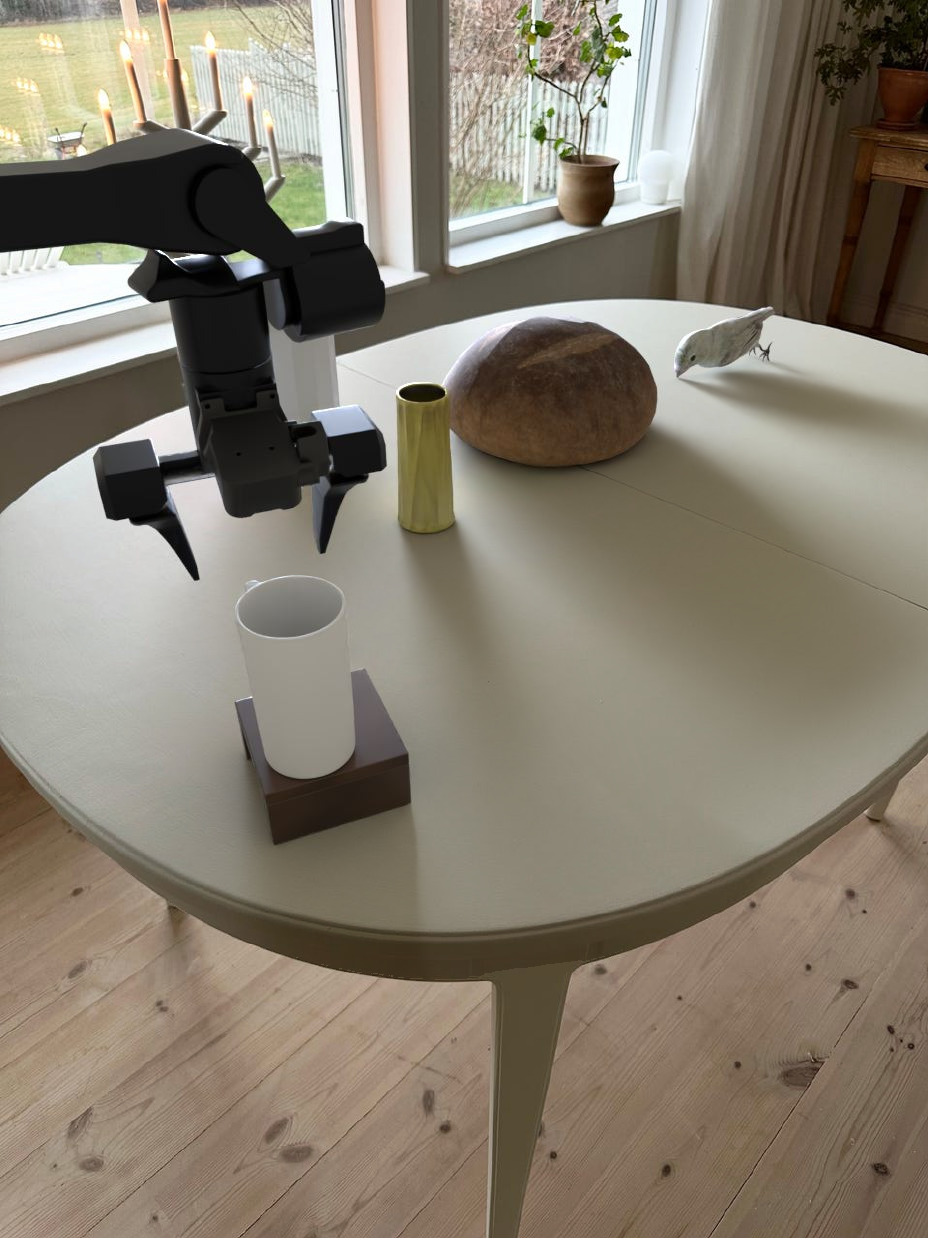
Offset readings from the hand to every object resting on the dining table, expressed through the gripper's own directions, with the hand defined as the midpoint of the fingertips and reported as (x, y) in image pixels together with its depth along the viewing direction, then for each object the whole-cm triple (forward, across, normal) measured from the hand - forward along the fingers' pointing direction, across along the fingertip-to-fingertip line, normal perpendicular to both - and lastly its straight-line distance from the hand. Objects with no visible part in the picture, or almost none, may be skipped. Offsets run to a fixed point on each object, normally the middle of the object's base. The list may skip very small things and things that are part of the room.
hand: (260, 564), depth 67 cm
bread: (+13, +43, +38) cm, 59 cm away
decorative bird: (+14, +75, +47) cm, 89 cm away
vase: (+13, +21, +22) cm, 33 cm away
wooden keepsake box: (+13, +1, -10) cm, 16 cm away
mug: (+8, 0, -10) cm, 13 cm away
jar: (+13, +15, +51) cm, 55 cm away
